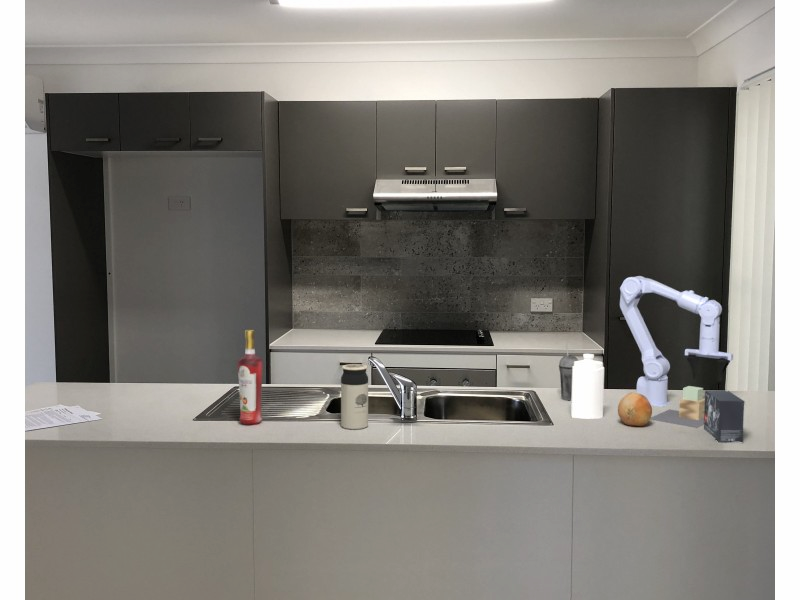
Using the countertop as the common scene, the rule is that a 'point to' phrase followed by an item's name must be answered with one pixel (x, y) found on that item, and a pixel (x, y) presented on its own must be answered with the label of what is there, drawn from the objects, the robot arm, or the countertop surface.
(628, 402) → the onion
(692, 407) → the oak slab upper
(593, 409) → the squeeze bottle
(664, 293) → the robot arm
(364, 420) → the travel mug
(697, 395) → the sage block
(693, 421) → the mat
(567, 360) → the beverage cup
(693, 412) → the oak slab lower
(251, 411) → the liquor
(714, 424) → the small box
